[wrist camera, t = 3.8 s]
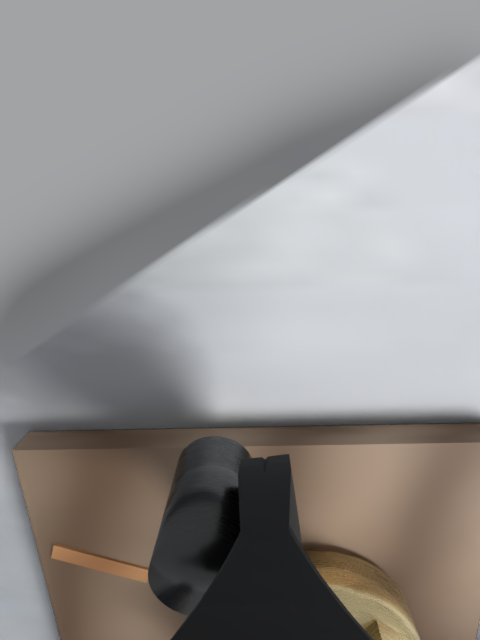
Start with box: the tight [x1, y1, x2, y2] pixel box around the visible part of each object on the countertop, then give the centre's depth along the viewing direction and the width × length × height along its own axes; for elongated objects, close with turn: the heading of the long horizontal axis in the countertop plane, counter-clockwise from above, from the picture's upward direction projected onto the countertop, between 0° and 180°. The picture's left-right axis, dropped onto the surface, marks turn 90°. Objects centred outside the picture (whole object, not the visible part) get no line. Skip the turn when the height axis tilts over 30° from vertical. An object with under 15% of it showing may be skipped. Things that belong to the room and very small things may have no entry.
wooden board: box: [12, 423, 480, 640], centre depth 17 cm, size 18×13×1 cm
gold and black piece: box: [148, 436, 420, 640], centre depth 14 cm, size 14×8×5 cm, turn 25°
